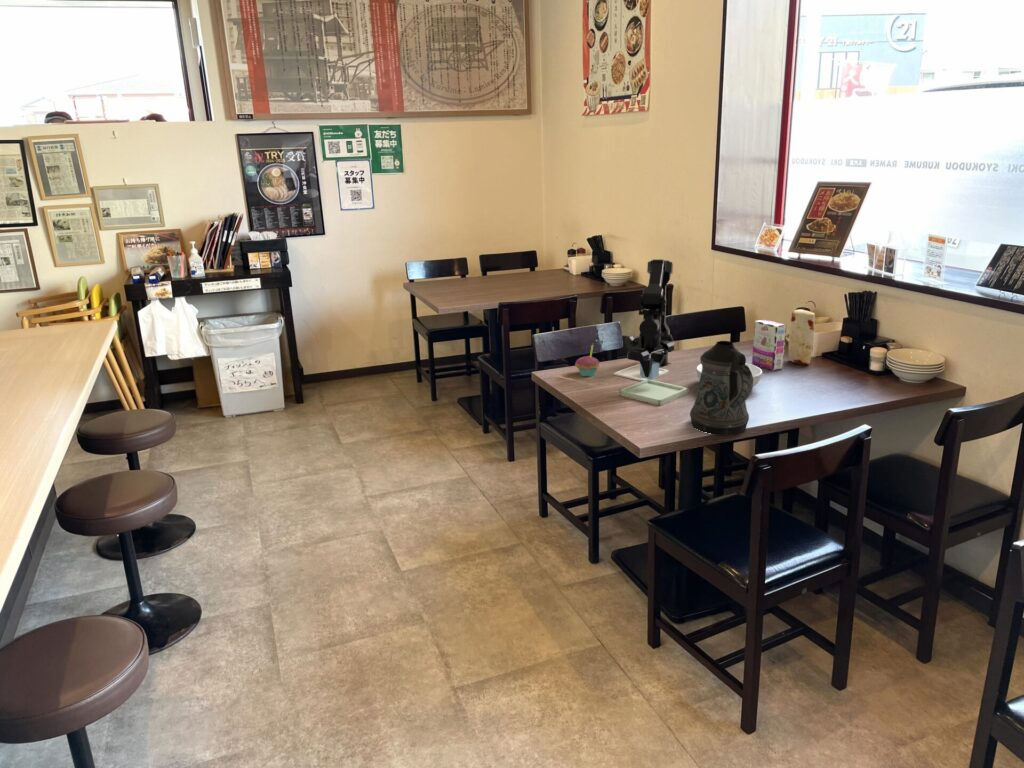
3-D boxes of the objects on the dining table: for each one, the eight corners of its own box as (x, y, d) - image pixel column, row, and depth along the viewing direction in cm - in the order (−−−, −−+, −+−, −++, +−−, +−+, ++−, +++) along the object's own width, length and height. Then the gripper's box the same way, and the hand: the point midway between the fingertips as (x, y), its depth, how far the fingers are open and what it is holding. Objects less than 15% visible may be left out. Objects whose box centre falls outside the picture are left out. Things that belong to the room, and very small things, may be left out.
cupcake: (599, 372, 271) (599, 340, 268) (599, 379, 263) (599, 346, 260) (575, 372, 272) (575, 340, 269) (575, 379, 264) (574, 346, 261)
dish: (638, 366, 276) (638, 363, 276) (668, 373, 267) (668, 370, 267) (613, 376, 266) (613, 373, 266) (643, 383, 257) (643, 380, 257)
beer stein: (705, 411, 229) (709, 332, 221) (767, 424, 217) (773, 341, 209) (679, 427, 217) (682, 344, 209) (743, 442, 205) (749, 354, 197)
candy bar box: (783, 369, 268) (787, 324, 263) (773, 371, 266) (776, 326, 261) (761, 362, 277) (764, 318, 272) (751, 363, 275) (754, 320, 270)
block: (648, 374, 252) (649, 360, 250) (658, 377, 249) (659, 362, 248) (641, 377, 249) (642, 363, 248) (651, 379, 246) (652, 365, 245)
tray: (647, 383, 257) (648, 378, 256) (688, 393, 246) (688, 388, 245) (619, 395, 246) (619, 390, 246) (659, 405, 235) (660, 400, 235)
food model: (782, 362, 276) (787, 308, 270) (794, 358, 280) (799, 306, 274) (805, 367, 268) (810, 313, 262) (817, 364, 272) (822, 310, 266)
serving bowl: (764, 399, 238) (765, 379, 236) (696, 397, 242) (697, 377, 240) (757, 380, 257) (758, 360, 255) (694, 378, 261) (695, 359, 259)
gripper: (648, 321, 256) (647, 365, 261) (614, 331, 243) (613, 377, 248) (675, 325, 248) (674, 370, 253) (642, 336, 236) (641, 384, 241)
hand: (650, 375), depth 249 cm, fingers closed on block, 4 cm apart
